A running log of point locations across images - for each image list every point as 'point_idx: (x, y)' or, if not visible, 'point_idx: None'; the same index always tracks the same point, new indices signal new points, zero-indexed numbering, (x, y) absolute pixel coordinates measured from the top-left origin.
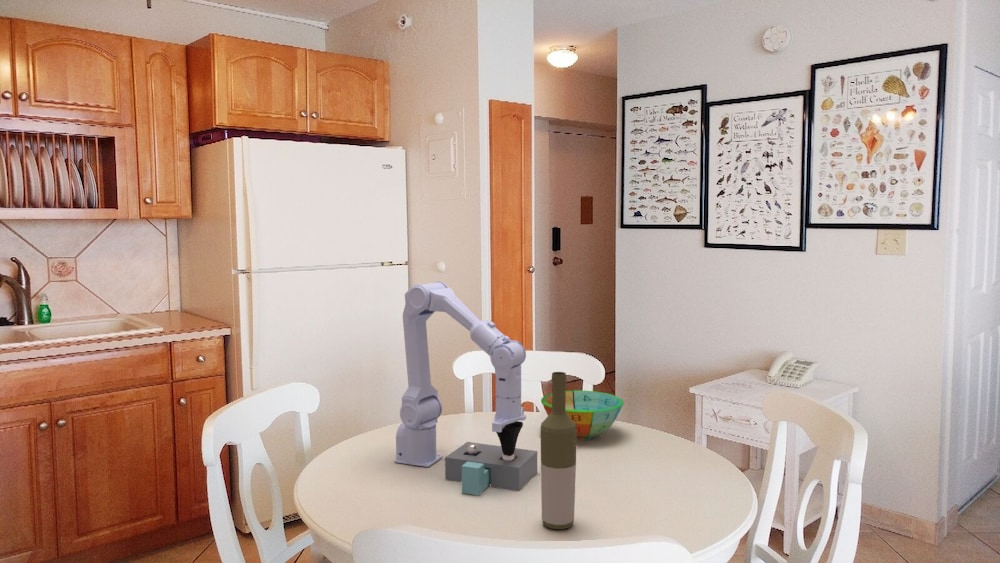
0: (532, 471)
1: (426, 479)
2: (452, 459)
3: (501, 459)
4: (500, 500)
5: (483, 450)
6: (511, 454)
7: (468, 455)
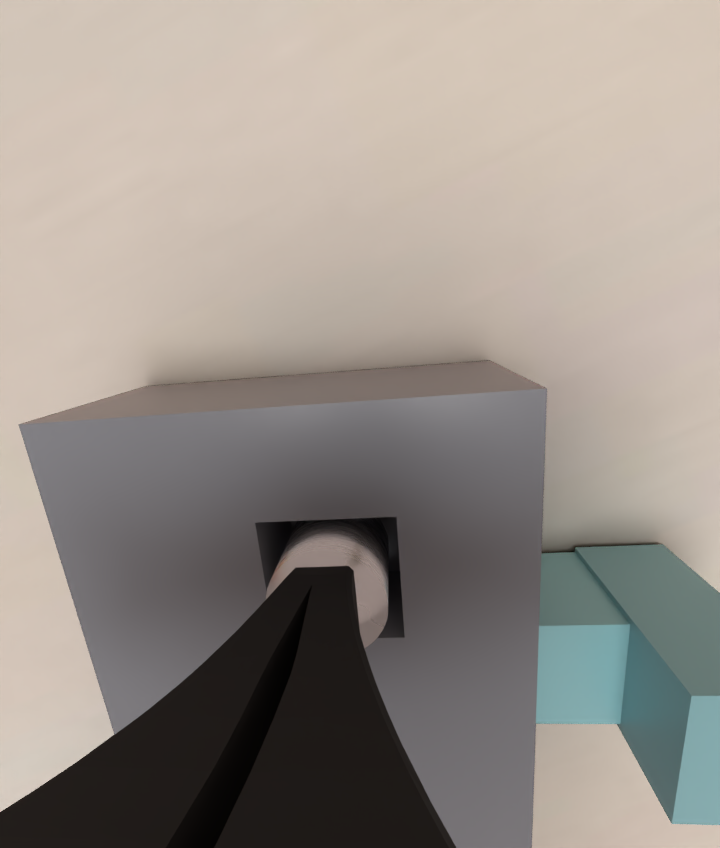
0: (219, 386)
1: None
2: None
3: None
4: (684, 401)
5: None
6: (353, 573)
7: None
